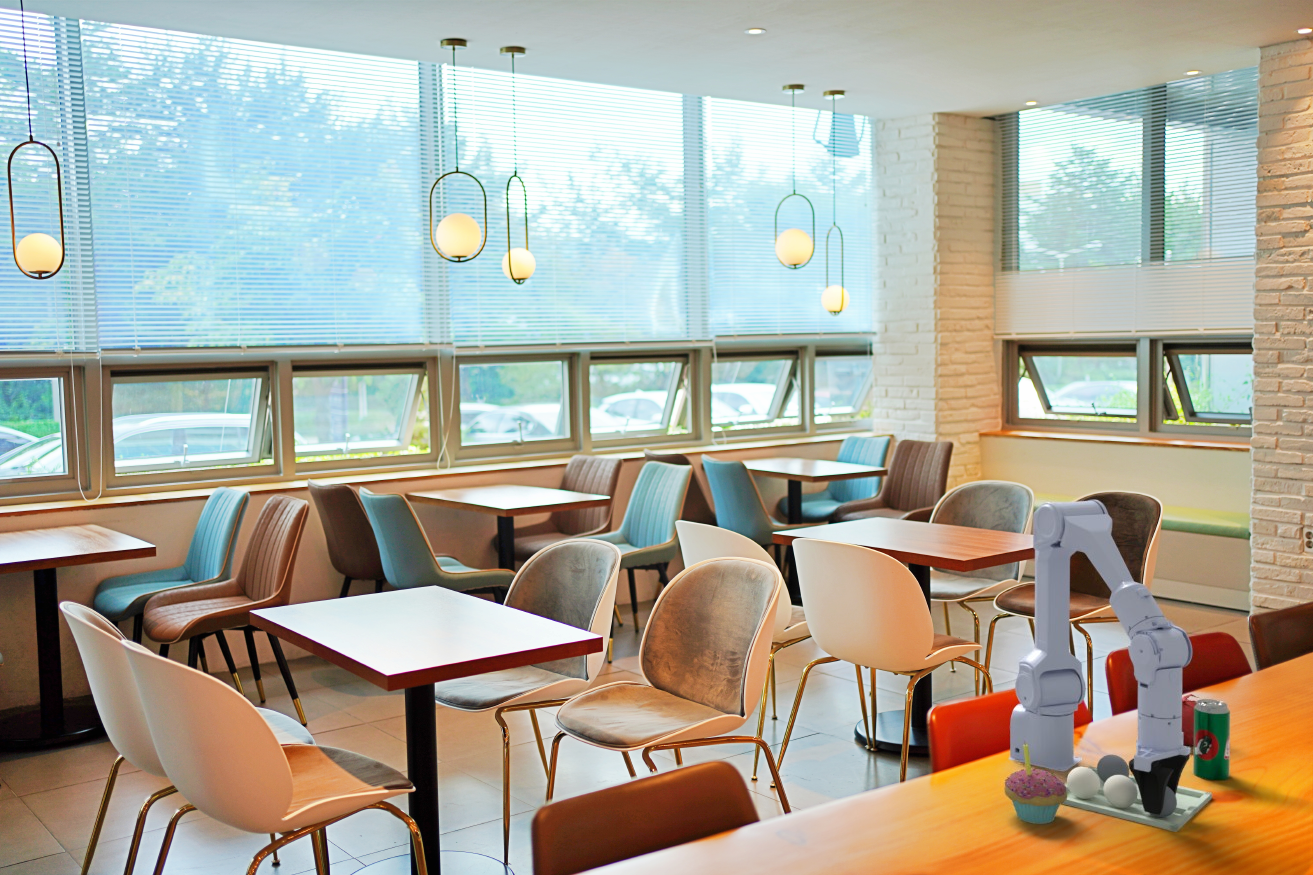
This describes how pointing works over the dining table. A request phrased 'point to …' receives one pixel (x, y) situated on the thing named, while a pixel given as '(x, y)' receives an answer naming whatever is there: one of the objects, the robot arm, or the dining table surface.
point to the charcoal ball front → (1168, 804)
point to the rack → (1185, 809)
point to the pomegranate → (1188, 720)
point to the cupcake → (1035, 793)
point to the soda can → (1211, 740)
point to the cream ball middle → (1120, 791)
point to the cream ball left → (1083, 782)
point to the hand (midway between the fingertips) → (1159, 806)
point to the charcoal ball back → (1112, 767)
